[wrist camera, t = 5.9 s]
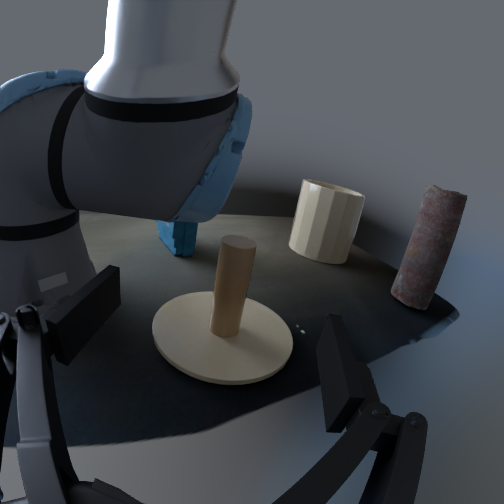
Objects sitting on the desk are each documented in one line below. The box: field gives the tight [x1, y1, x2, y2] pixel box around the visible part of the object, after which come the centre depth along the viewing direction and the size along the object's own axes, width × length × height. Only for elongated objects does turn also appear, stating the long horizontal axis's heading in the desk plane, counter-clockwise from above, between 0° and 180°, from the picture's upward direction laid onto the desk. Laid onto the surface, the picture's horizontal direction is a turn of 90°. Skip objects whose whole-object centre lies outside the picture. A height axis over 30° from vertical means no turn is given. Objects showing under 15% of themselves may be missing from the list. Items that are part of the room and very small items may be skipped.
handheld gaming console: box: [156, 220, 198, 257], centre depth 43 cm, size 10×4×15 cm, turn 36°
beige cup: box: [289, 179, 366, 264], centre depth 56 cm, size 13×13×14 cm
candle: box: [391, 185, 467, 310], centre depth 38 cm, size 8×7×20 cm
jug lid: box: [152, 235, 293, 385], centre depth 26 cm, size 14×14×10 cm
